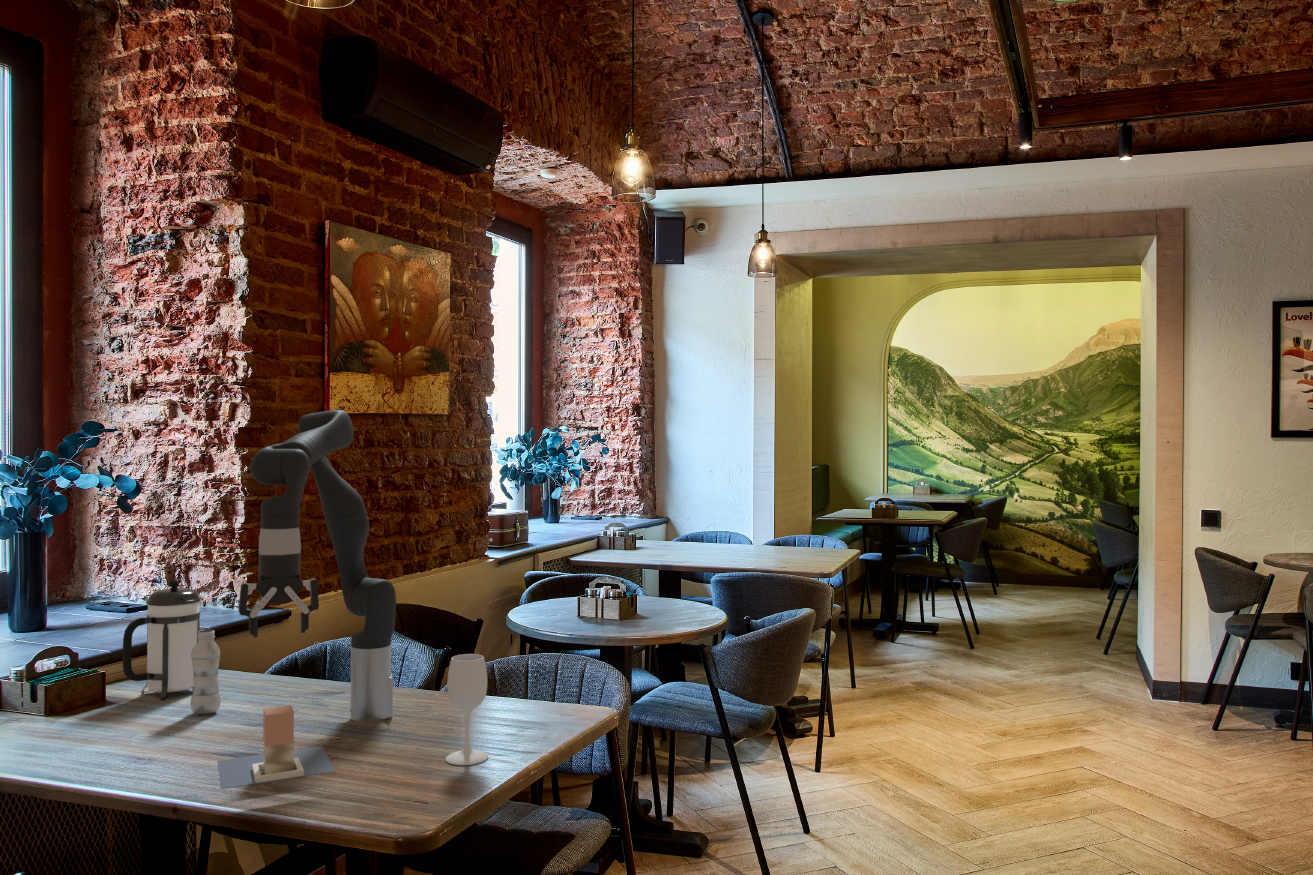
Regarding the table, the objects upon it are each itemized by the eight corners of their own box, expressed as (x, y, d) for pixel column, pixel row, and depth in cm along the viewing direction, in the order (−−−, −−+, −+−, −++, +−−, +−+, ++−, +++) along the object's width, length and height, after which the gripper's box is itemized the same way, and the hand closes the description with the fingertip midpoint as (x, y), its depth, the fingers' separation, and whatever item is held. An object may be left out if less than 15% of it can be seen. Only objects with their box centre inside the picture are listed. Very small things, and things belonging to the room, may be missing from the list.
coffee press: (151, 686, 245) (152, 576, 246) (213, 685, 247) (214, 575, 248) (120, 704, 228) (122, 585, 229) (187, 702, 230) (188, 584, 230)
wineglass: (467, 768, 182) (468, 663, 182) (436, 760, 186) (437, 658, 187) (496, 756, 189) (497, 655, 189) (466, 749, 194) (467, 651, 194)
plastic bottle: (208, 717, 216) (209, 634, 217) (183, 716, 218) (184, 632, 218) (226, 710, 223) (227, 629, 223) (202, 708, 224) (203, 627, 224)
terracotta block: (290, 735, 179) (290, 705, 179) (293, 742, 174) (293, 711, 174) (263, 739, 176) (263, 708, 176) (265, 746, 172) (265, 714, 172)
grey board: (322, 753, 191) (322, 741, 191) (335, 778, 176) (335, 765, 176) (217, 768, 181) (217, 756, 181) (221, 796, 166) (221, 783, 166)
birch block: (291, 766, 179) (291, 735, 179) (294, 773, 174) (294, 742, 174) (263, 770, 176) (263, 739, 176) (265, 778, 172) (266, 746, 172)
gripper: (315, 547, 183) (315, 628, 182) (238, 551, 176) (237, 634, 176) (321, 551, 176) (320, 634, 176) (241, 554, 169) (240, 641, 169)
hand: (279, 634), depth 176 cm, fingers open, 8 cm apart
